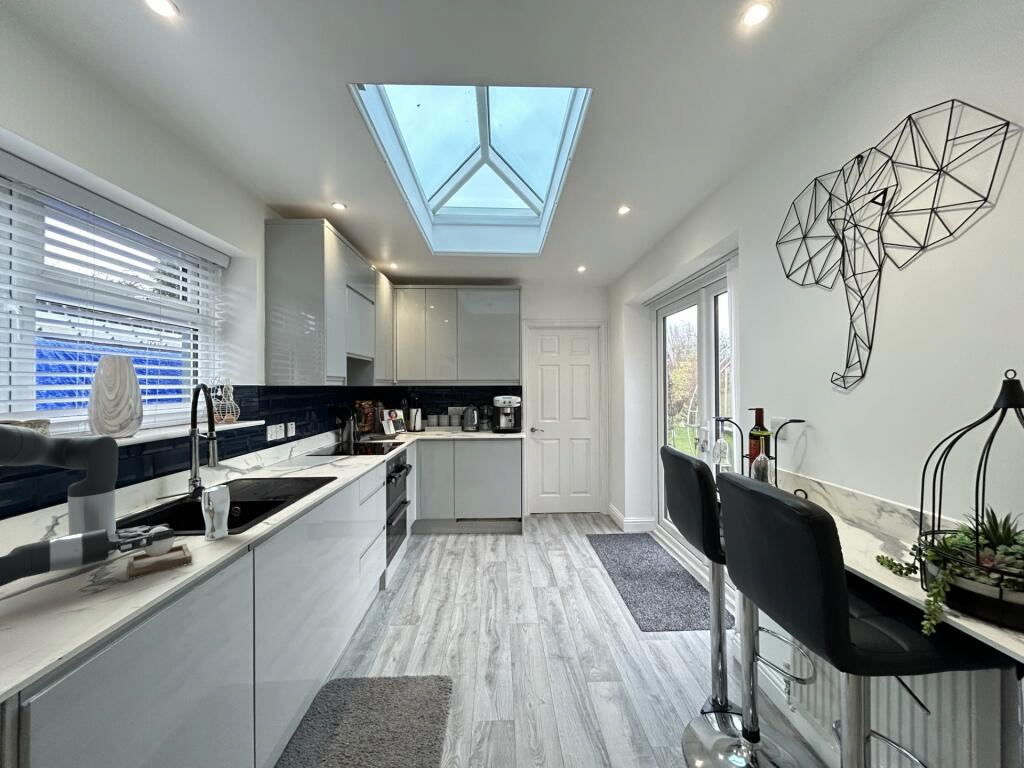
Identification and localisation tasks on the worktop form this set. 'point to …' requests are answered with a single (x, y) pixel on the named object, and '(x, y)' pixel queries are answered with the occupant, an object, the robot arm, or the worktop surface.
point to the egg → (159, 544)
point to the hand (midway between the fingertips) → (170, 530)
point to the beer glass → (215, 511)
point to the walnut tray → (158, 561)
